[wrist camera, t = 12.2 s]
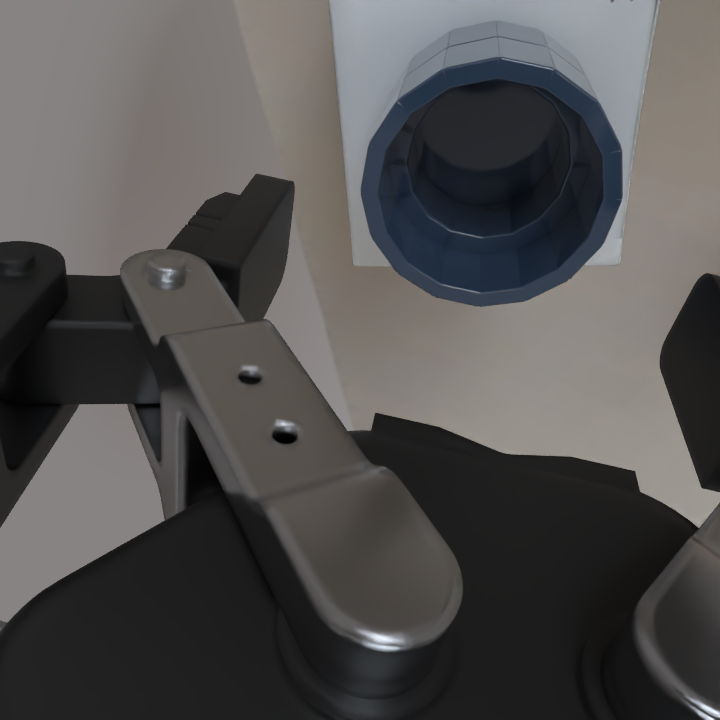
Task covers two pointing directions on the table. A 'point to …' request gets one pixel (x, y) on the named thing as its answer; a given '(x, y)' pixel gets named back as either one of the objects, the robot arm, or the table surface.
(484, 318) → the table surface
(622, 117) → the supplement box
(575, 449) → the table surface
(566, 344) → the table surface
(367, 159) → the plant pot
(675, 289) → the table surface
